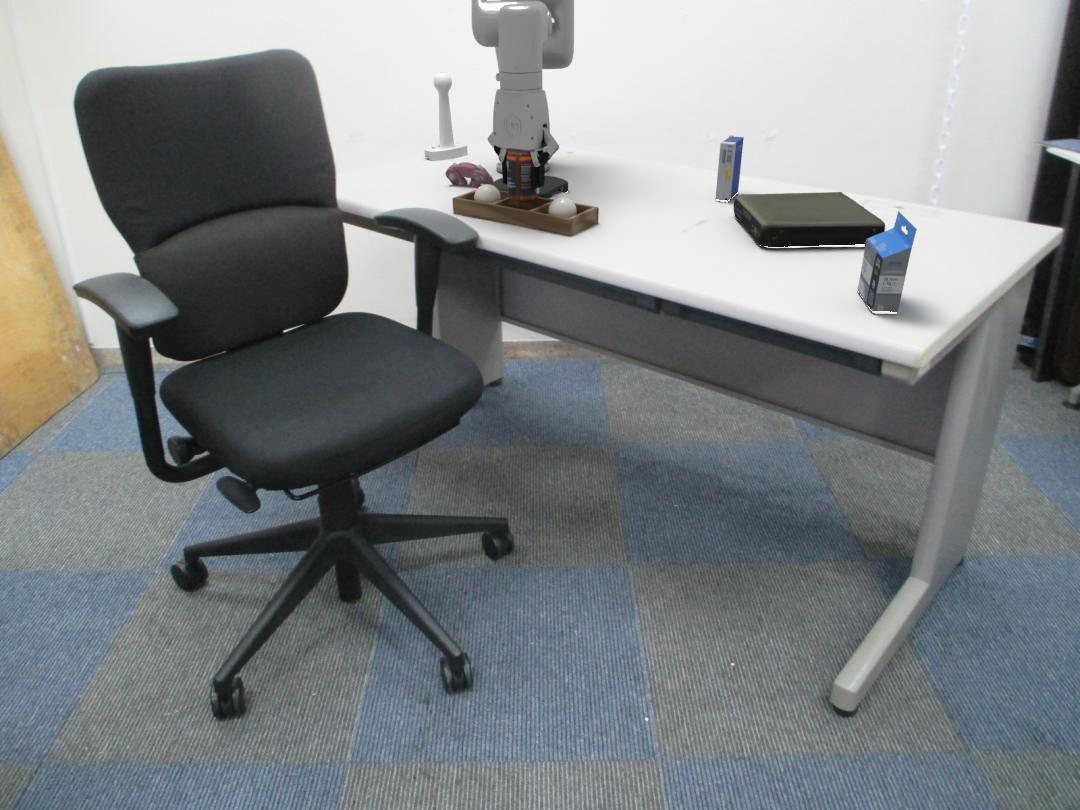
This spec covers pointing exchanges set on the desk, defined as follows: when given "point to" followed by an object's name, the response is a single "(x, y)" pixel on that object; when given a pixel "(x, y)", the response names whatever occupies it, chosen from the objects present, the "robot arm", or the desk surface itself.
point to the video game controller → (468, 174)
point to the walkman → (729, 167)
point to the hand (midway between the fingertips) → (523, 183)
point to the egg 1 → (487, 194)
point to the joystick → (445, 124)
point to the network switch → (806, 219)
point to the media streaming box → (548, 190)
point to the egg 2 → (562, 207)
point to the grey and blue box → (886, 266)
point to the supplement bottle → (520, 176)
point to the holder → (526, 213)
